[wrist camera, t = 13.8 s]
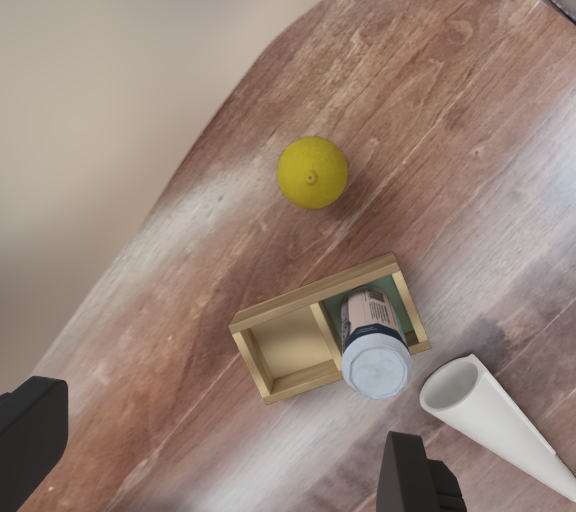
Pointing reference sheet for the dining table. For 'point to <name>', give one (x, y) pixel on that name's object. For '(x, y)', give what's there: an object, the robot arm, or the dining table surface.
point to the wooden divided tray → (315, 329)
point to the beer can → (373, 344)
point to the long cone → (493, 421)
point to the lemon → (312, 172)
